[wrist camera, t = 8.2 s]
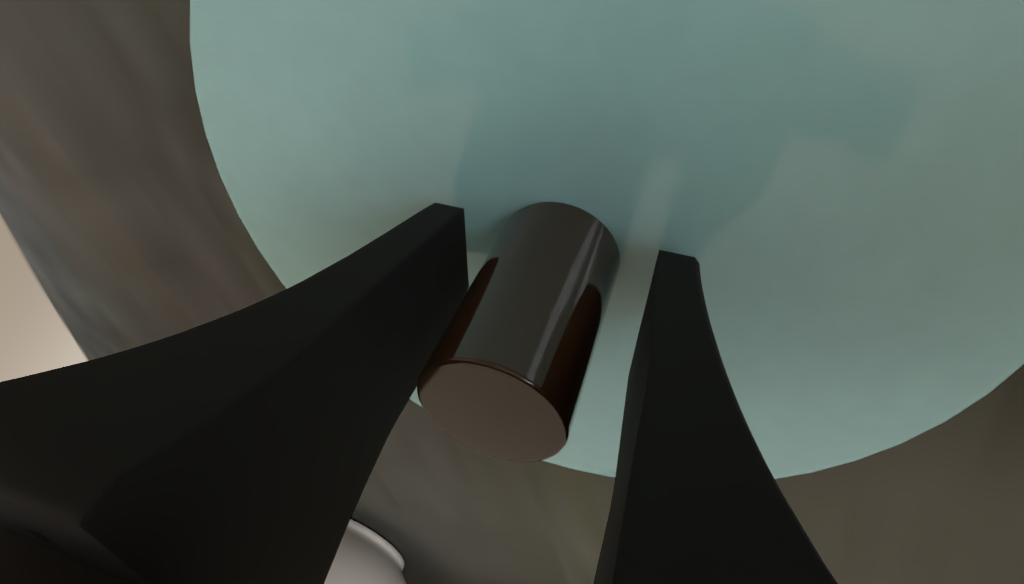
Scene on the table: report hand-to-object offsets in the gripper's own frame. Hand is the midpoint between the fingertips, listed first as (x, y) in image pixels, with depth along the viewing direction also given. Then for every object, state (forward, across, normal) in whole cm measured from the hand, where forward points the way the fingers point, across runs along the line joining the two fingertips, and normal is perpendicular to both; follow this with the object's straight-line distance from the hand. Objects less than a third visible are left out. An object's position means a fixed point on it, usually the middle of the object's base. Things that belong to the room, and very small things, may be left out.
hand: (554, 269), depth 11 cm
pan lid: (+1, 0, 0) cm, 1 cm away
